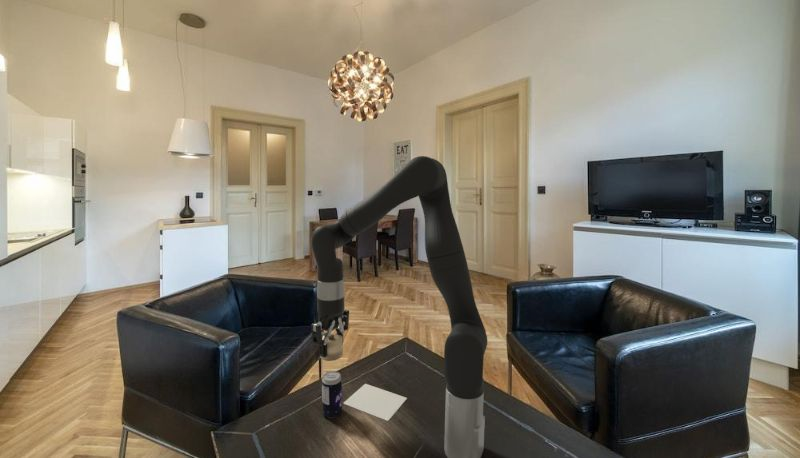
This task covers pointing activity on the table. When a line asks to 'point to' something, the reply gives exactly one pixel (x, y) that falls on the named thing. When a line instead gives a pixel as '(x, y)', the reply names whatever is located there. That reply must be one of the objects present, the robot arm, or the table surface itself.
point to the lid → (334, 347)
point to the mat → (375, 401)
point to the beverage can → (332, 394)
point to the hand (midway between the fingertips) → (331, 351)
